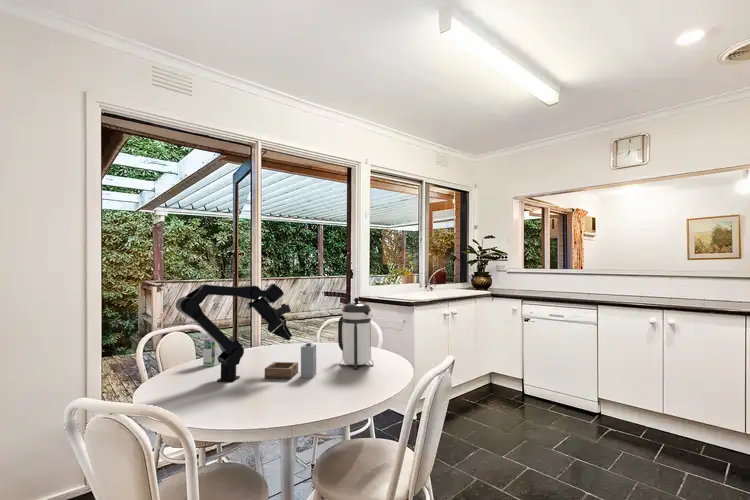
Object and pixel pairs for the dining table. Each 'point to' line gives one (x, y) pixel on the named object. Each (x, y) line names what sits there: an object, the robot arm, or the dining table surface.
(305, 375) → the plug
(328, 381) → the dining table surface
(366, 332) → the coffee press
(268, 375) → the socket
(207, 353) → the syrup box
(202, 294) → the robot arm
